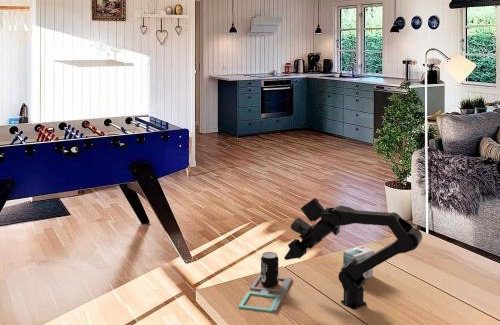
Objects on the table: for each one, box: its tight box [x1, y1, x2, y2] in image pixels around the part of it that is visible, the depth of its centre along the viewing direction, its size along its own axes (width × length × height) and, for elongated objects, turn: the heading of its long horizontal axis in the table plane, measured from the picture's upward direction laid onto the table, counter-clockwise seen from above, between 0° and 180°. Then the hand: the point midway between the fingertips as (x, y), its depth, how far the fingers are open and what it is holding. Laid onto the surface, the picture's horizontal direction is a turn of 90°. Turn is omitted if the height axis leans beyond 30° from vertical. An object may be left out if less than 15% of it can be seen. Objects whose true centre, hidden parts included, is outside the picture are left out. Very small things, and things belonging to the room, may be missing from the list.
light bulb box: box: [342, 245, 375, 280], centre depth 215 cm, size 11×7×11 cm, turn 126°
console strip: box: [259, 277, 293, 313], centre depth 202 cm, size 27×9×1 cm, turn 164°
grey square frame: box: [249, 274, 289, 294], centre depth 209 cm, size 12×12×1 cm
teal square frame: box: [237, 291, 280, 313], centre depth 195 cm, size 12×12×1 cm
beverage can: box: [260, 251, 279, 289], centre depth 208 cm, size 7×7×12 cm
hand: (290, 254), depth 203 cm, fingers open, 9 cm apart
